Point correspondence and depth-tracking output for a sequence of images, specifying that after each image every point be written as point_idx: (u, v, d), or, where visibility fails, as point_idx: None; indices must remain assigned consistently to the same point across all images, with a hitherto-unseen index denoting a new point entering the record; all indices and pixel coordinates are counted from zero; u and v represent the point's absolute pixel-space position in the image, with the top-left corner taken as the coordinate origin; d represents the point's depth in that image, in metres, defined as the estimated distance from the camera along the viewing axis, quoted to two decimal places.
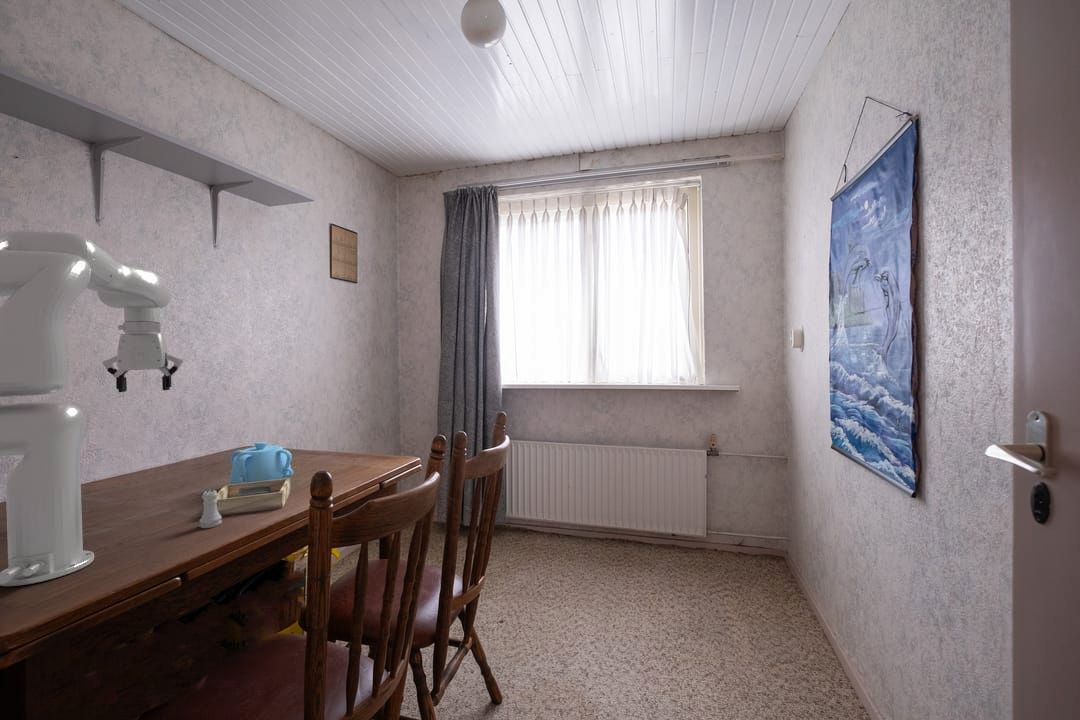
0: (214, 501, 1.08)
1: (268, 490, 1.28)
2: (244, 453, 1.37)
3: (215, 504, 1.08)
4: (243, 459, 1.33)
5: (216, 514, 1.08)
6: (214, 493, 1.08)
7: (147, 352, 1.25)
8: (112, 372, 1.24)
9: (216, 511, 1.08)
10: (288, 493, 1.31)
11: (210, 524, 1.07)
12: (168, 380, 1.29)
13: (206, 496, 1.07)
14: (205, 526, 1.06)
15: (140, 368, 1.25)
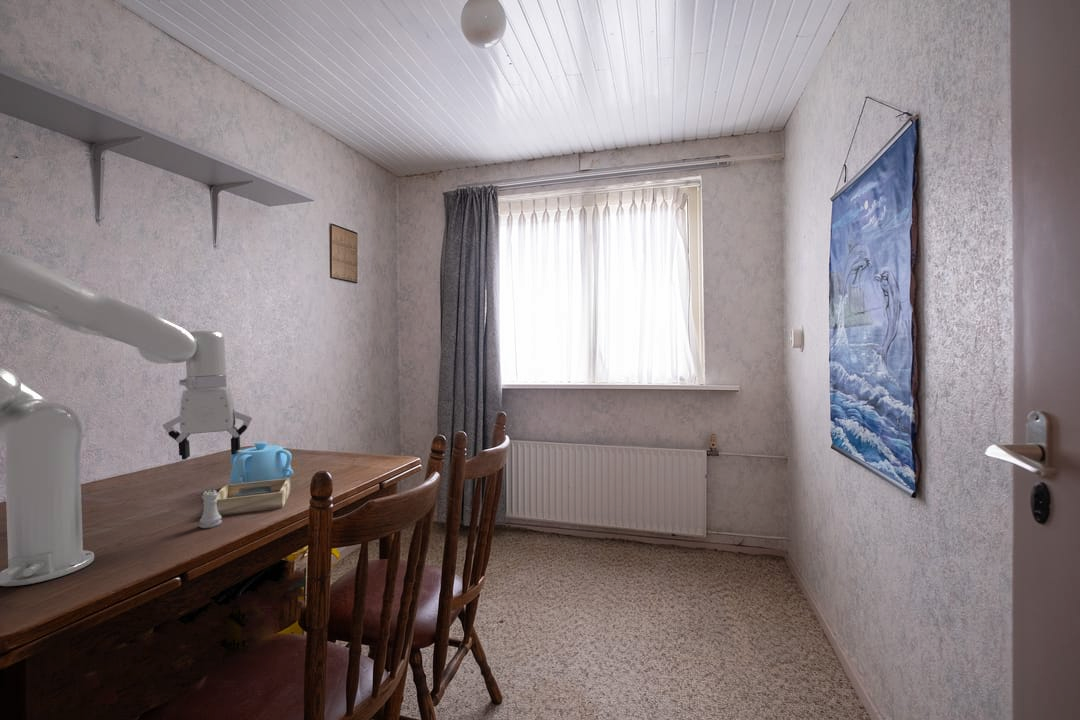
0: (214, 501, 1.08)
1: (268, 490, 1.28)
2: (244, 453, 1.37)
3: (215, 504, 1.08)
4: (243, 459, 1.33)
5: (216, 514, 1.08)
6: (214, 493, 1.08)
7: (214, 411, 1.06)
8: (174, 436, 1.05)
9: (216, 511, 1.08)
10: (288, 493, 1.31)
11: (210, 524, 1.07)
12: (237, 442, 1.10)
13: (206, 496, 1.07)
14: (205, 526, 1.06)
15: (206, 431, 1.06)
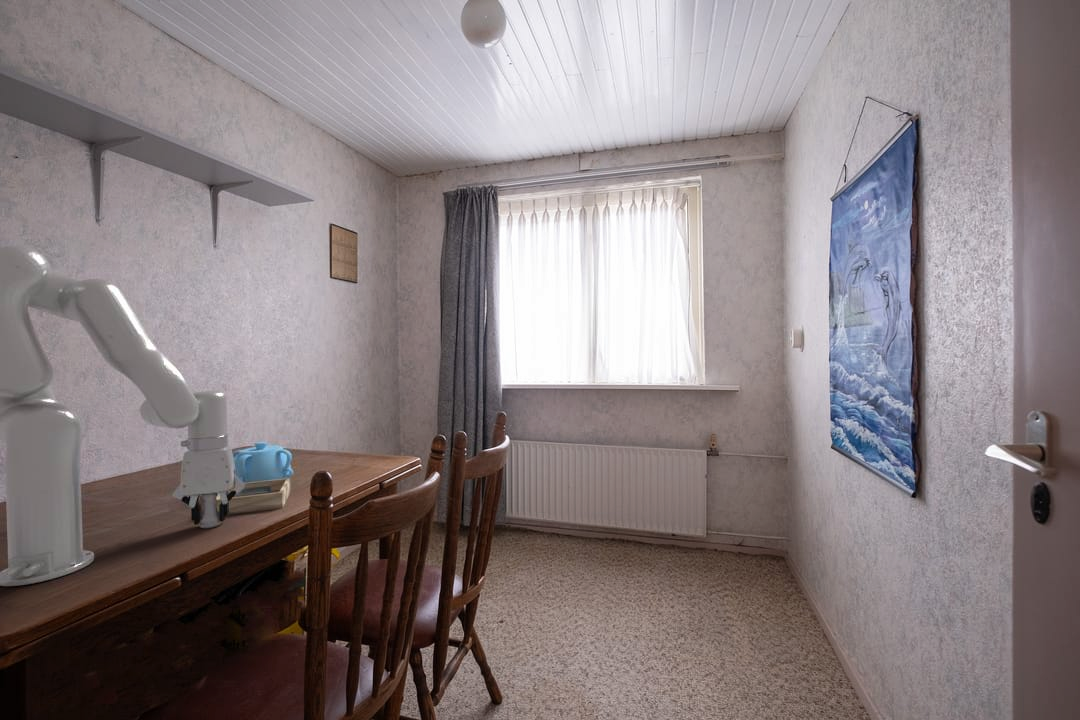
0: (214, 501, 1.08)
1: (268, 490, 1.28)
2: (244, 453, 1.37)
3: (215, 504, 1.08)
4: (243, 459, 1.33)
5: (216, 514, 1.08)
6: (214, 493, 1.08)
7: (215, 473, 1.06)
8: (187, 501, 1.06)
9: (216, 511, 1.08)
10: (288, 493, 1.31)
11: (210, 524, 1.07)
12: (226, 508, 1.09)
13: (206, 496, 1.07)
14: (205, 526, 1.06)
15: (207, 492, 1.06)
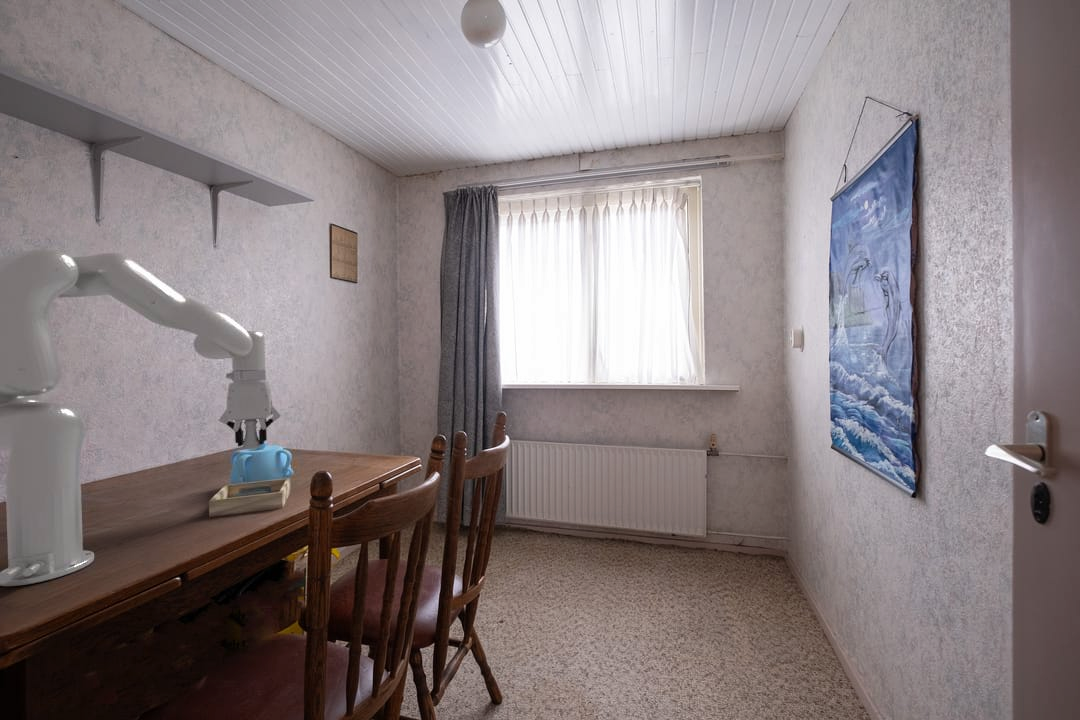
0: (254, 426, 1.24)
1: (268, 490, 1.28)
2: (244, 453, 1.37)
3: (255, 429, 1.24)
4: (243, 459, 1.33)
5: (256, 438, 1.24)
6: (254, 420, 1.24)
7: (255, 401, 1.22)
8: (231, 426, 1.22)
9: (256, 435, 1.24)
10: (288, 493, 1.31)
11: (251, 446, 1.23)
12: (264, 434, 1.25)
13: (248, 421, 1.23)
14: (247, 447, 1.22)
15: (249, 418, 1.22)
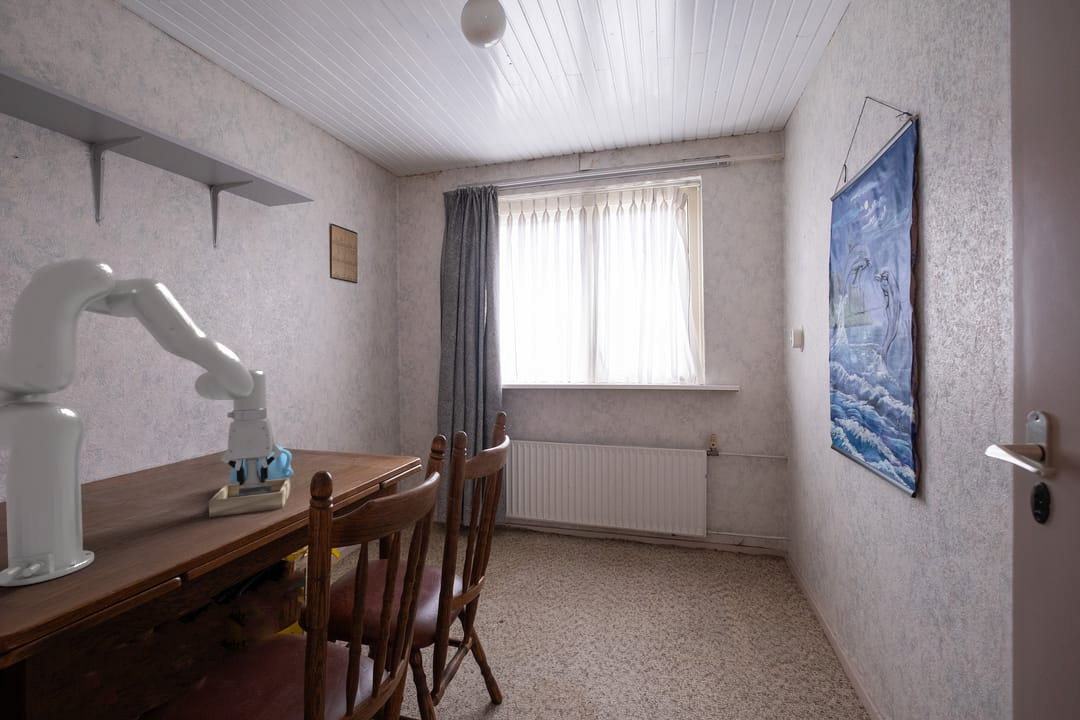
0: (256, 465, 1.24)
1: (268, 490, 1.28)
2: None
3: (256, 468, 1.25)
4: None
5: (257, 476, 1.24)
6: (256, 458, 1.24)
7: (257, 440, 1.23)
8: (233, 465, 1.22)
9: (257, 473, 1.25)
10: (288, 493, 1.31)
11: (253, 484, 1.23)
12: (266, 472, 1.25)
13: (249, 460, 1.23)
14: (249, 486, 1.23)
15: (250, 457, 1.22)
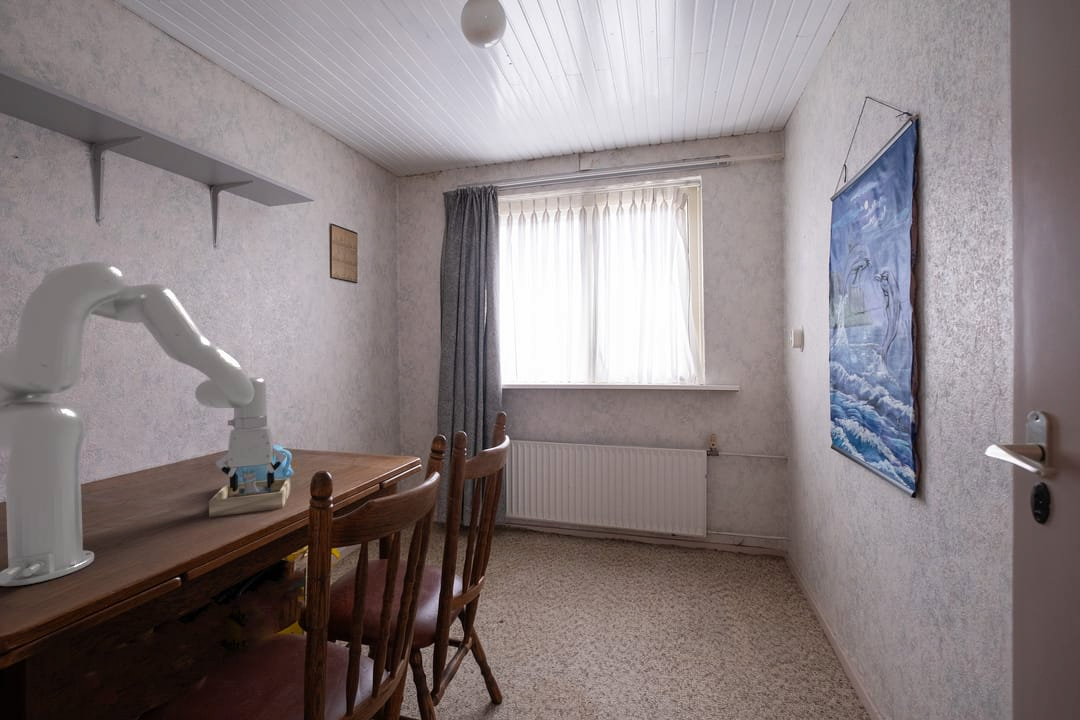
0: (253, 479, 1.24)
1: (268, 490, 1.28)
2: None
3: (254, 482, 1.24)
4: None
5: (256, 490, 1.24)
6: (252, 473, 1.24)
7: (257, 448, 1.23)
8: (226, 471, 1.22)
9: (255, 488, 1.24)
10: (288, 493, 1.31)
11: None
12: (272, 477, 1.26)
13: (246, 476, 1.22)
14: None
15: (250, 465, 1.22)
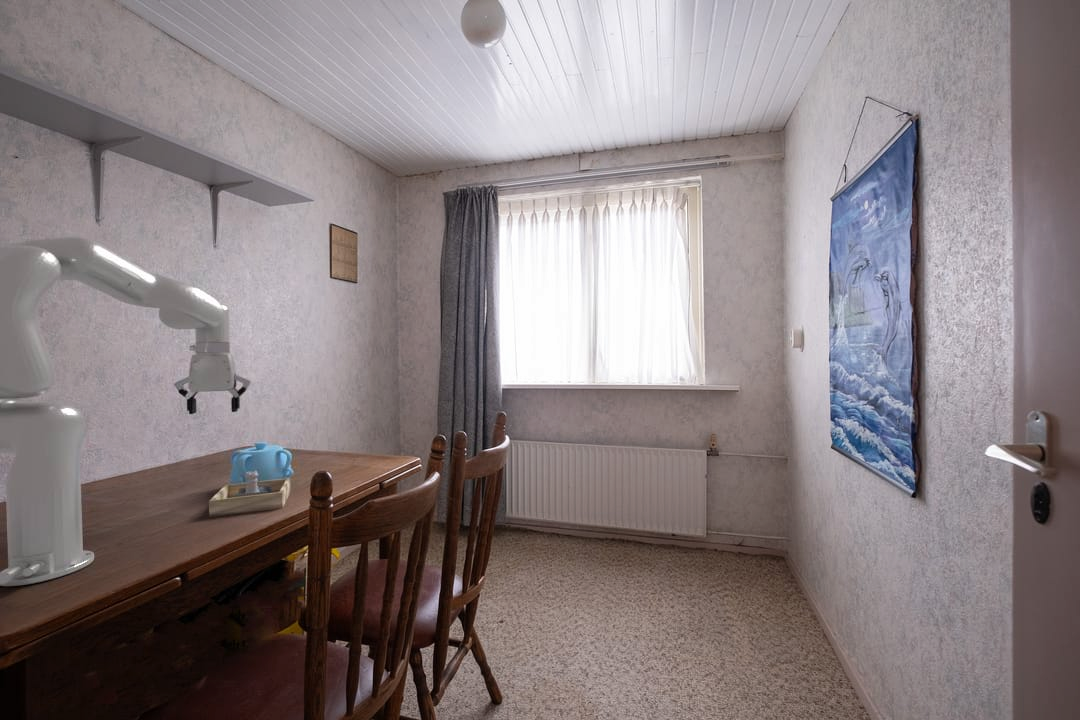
0: (255, 480, 1.24)
1: (268, 490, 1.28)
2: (244, 453, 1.37)
3: (256, 483, 1.24)
4: (243, 459, 1.33)
5: (257, 491, 1.24)
6: (255, 473, 1.24)
7: (217, 373, 1.23)
8: (183, 394, 1.22)
9: (256, 489, 1.24)
10: (288, 493, 1.31)
11: None
12: (237, 401, 1.26)
13: (249, 475, 1.23)
14: None
15: (210, 389, 1.22)
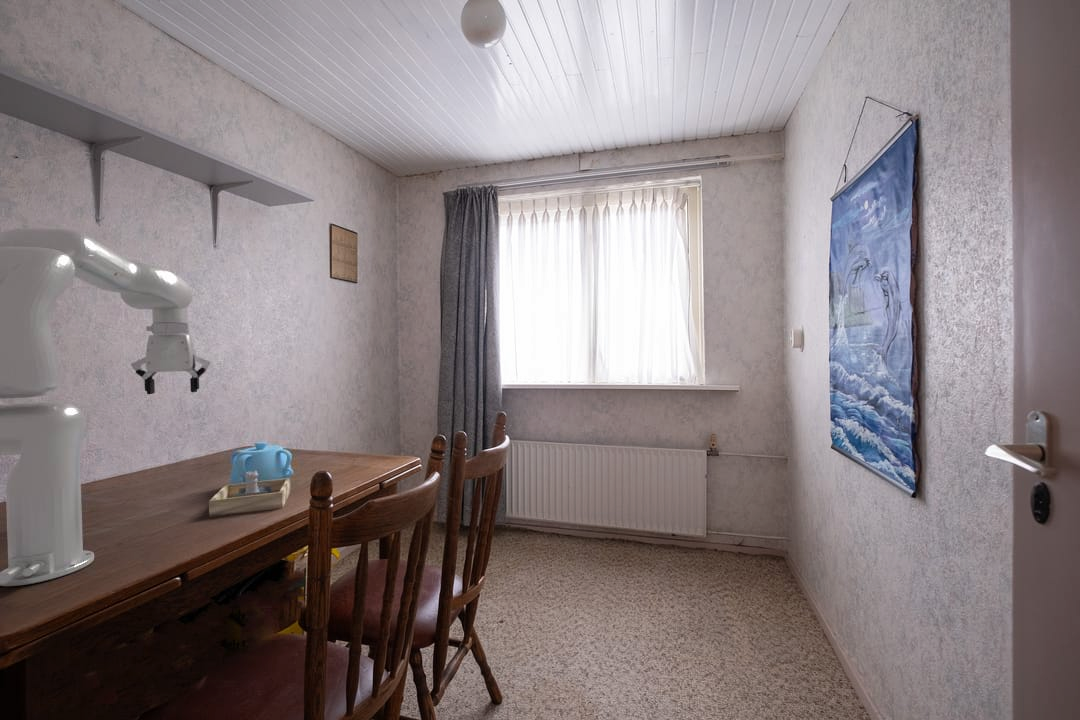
0: (255, 480, 1.24)
1: (268, 490, 1.28)
2: (244, 453, 1.37)
3: (256, 483, 1.24)
4: (243, 459, 1.33)
5: (257, 491, 1.24)
6: (255, 473, 1.24)
7: (175, 354, 1.24)
8: (140, 374, 1.23)
9: (257, 489, 1.24)
10: (288, 493, 1.31)
11: None
12: (196, 382, 1.27)
13: (249, 475, 1.23)
14: None
15: (168, 370, 1.24)
